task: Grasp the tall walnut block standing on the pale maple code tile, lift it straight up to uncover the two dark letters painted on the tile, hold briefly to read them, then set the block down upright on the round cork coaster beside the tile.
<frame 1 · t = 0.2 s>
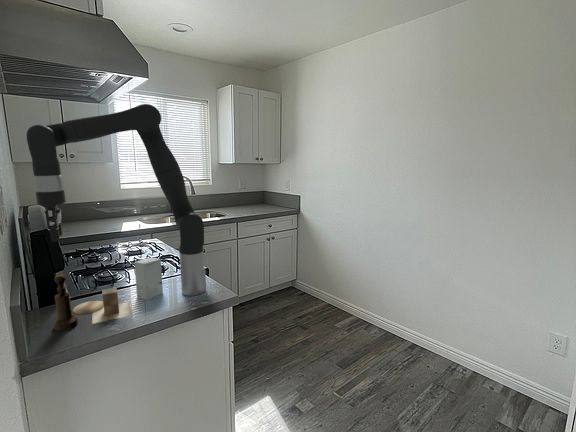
hand: (57, 238, 107), 28 cm above the worktop, tool pointing down, fingers open, 8 cm apart
cork coaster: (89, 308, 119), on the worktop
code tile: (111, 312, 115), on the worktop
skincare box: (150, 295, 130), on the worktop
brown tall tapered piece: (66, 326, 106), on the worktop
walnut block: (111, 312, 115), resting on code tile
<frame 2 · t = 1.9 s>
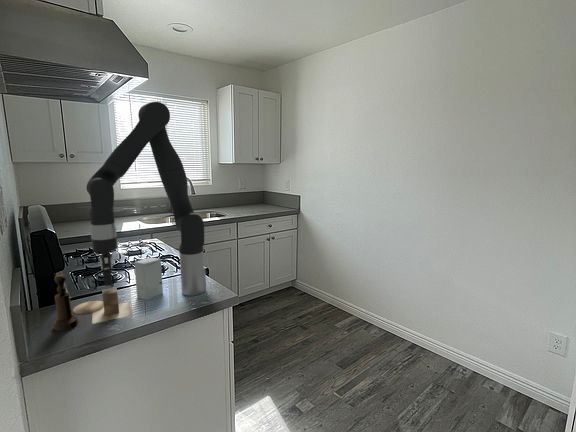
hand: (108, 281, 113), 12 cm above the worktop, tool pointing down, fingers open, 8 cm apart
nothing on the worktop moved.
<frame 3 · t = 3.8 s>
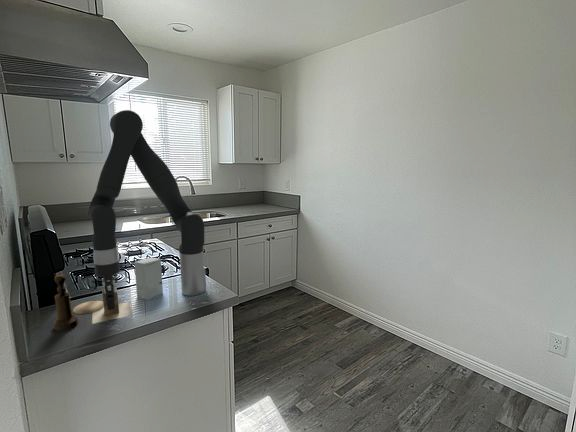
hand: (111, 306, 115), 3 cm above the worktop, tool pointing down, fingers closed on walnut block, 4 cm apart
walnut block: (111, 312, 115), resting on code tile, touching gripper
everything else where it was.
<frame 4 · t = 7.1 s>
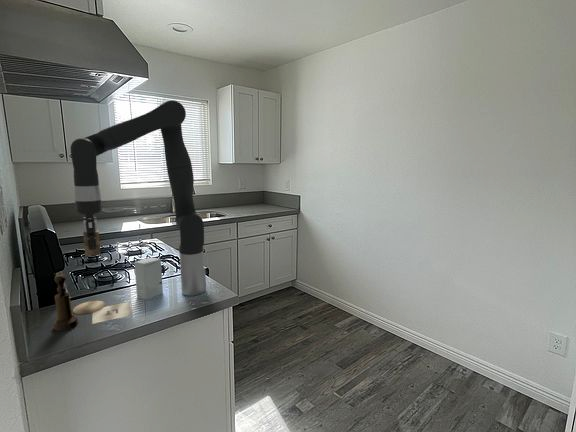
hand: (92, 247, 112), 24 cm above the worktop, tool pointing down, fingers closed on walnut block, 4 cm apart
walnut block: (93, 253, 113), point 22 cm above the worktop, touching gripper
everything else where it was.
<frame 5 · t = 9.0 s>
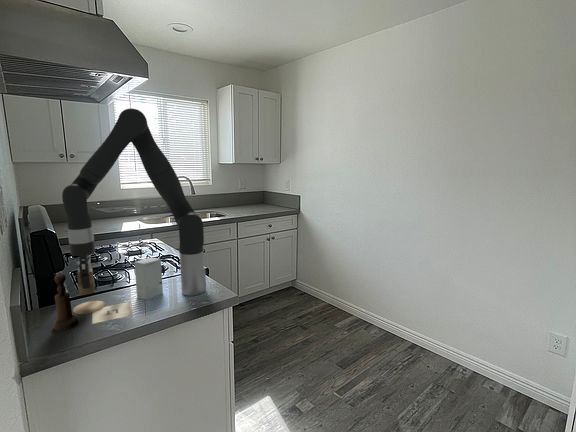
hand: (86, 285, 117), 9 cm above the worktop, tool pointing down, fingers closed on walnut block, 4 cm apart
walnut block: (87, 291, 117), point 7 cm above the worktop, touching gripper
everything else where it was.
when the fingers open (4 cm above the worktop, at t = 10.5 s): walnut block drops 1 cm, resting on cork coaster.
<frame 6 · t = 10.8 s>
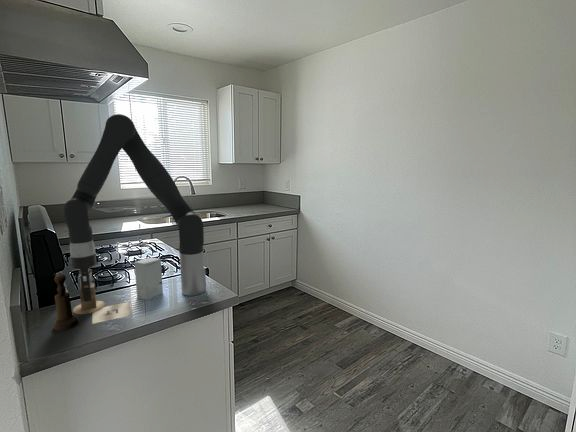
hand: (88, 297, 118), 4 cm above the worktop, tool pointing down, fingers open, 6 cm apart
walnut block: (89, 306, 119), point 1 cm above the worktop, touching cork coaster
everything else where it was.
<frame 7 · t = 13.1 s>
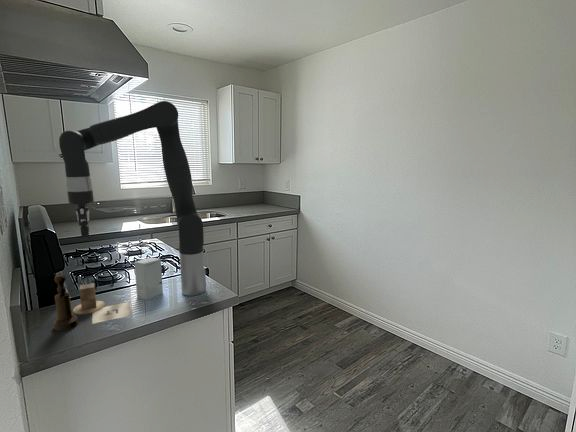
hand: (85, 234, 116), 27 cm above the worktop, tool pointing down, fingers open, 8 cm apart
nothing on the worktop moved.
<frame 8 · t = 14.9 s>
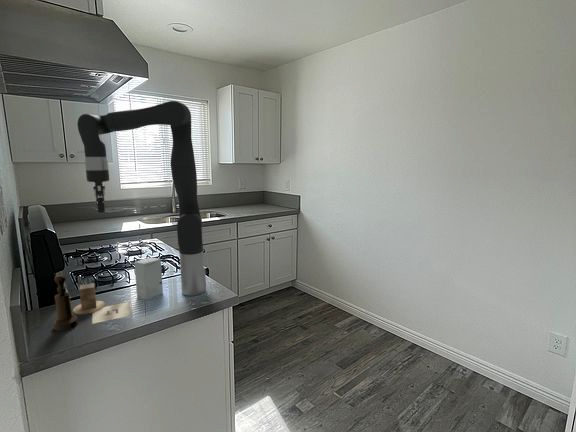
hand: (101, 210, 126), 34 cm above the worktop, tool pointing down, fingers open, 8 cm apart
nothing on the worktop moved.
at the end: walnut block 0.0 cm from the cork coaster (horizontally); walnut block tilted 0°; the gripper is holding nothing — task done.
